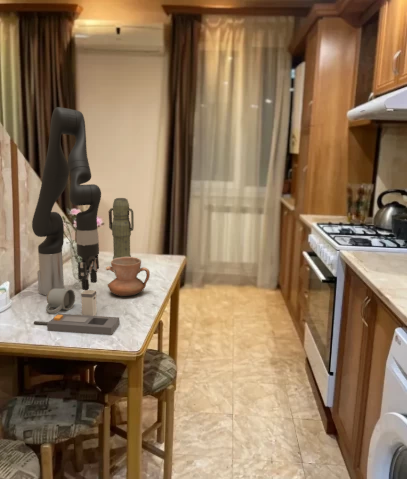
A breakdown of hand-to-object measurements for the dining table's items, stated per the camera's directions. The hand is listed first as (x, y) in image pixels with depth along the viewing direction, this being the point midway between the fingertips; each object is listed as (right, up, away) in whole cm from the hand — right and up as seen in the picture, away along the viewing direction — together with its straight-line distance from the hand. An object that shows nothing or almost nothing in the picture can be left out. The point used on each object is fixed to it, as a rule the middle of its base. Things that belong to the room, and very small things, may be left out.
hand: (89, 286), depth 166 cm
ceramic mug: (-13, -10, +8) cm, 18 cm away
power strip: (-3, -13, -8) cm, 16 cm away
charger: (-1, -11, +2) cm, 11 cm away
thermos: (+1, +1, +59) cm, 59 cm away
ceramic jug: (+9, -6, +27) cm, 29 cm away
